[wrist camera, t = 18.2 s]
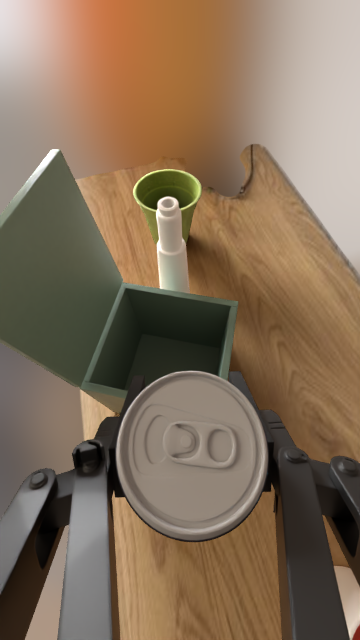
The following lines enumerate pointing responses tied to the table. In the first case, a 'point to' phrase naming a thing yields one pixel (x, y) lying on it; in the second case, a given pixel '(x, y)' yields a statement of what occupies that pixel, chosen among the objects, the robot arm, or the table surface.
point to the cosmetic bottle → (171, 247)
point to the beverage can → (192, 456)
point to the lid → (54, 273)
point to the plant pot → (168, 185)
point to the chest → (159, 340)
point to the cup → (349, 599)
